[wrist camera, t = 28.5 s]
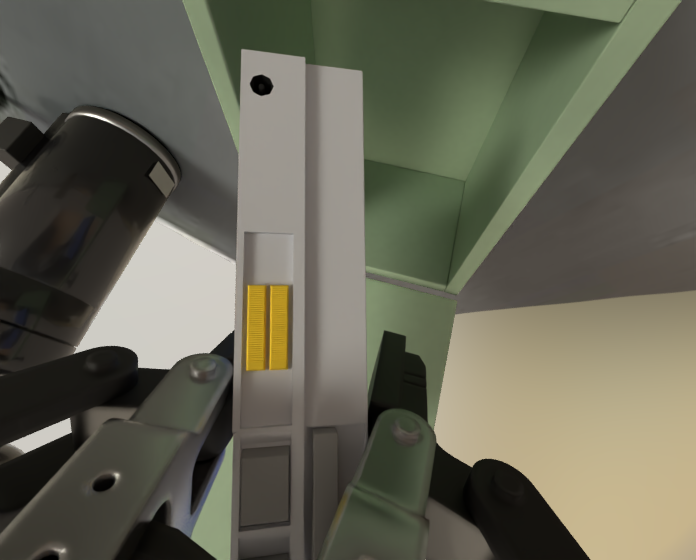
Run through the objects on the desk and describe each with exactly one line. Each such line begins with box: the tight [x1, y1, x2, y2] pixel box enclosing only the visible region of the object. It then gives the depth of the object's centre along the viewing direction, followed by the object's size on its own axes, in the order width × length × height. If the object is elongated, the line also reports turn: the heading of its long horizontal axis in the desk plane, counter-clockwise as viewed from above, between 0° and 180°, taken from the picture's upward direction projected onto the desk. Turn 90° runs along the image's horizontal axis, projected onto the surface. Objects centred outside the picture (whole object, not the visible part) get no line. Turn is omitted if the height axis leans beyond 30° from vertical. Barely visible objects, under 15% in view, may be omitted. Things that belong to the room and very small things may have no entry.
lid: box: [191, 278, 457, 560], centre depth 21 cm, size 16×12×6 cm
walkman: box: [230, 49, 368, 560], centre depth 11 cm, size 8×3×12 cm, turn 164°
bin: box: [182, 0, 682, 295], centre depth 16 cm, size 16×12×9 cm
